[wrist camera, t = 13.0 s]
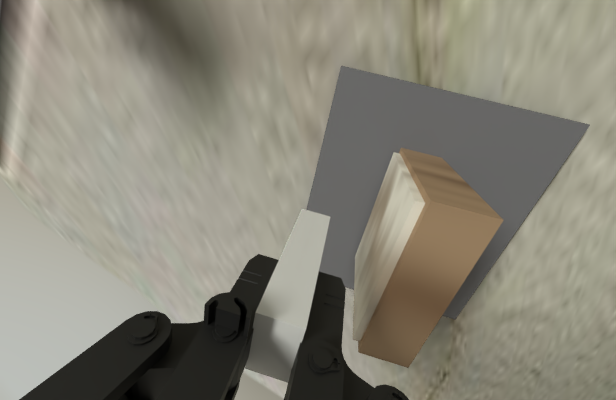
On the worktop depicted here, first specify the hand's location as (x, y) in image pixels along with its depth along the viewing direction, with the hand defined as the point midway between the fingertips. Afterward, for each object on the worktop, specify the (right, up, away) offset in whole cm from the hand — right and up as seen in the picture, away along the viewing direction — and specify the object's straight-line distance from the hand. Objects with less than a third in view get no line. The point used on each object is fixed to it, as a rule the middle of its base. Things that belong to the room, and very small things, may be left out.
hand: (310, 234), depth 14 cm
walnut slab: (+6, +1, +5) cm, 8 cm away
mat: (+7, +1, +5) cm, 9 cm away
